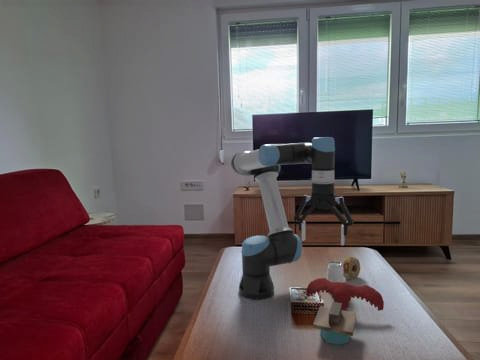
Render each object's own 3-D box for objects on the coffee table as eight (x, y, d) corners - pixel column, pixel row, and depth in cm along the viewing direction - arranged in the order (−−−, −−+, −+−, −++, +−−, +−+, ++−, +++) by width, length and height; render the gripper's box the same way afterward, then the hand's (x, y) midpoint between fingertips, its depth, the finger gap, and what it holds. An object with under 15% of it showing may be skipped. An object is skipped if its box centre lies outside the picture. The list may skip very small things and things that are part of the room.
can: (343, 294, 133) (344, 267, 131) (327, 293, 134) (328, 266, 132) (342, 287, 139) (342, 261, 137) (326, 286, 140) (327, 260, 139)
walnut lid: (313, 327, 102) (313, 313, 102) (320, 309, 113) (320, 296, 112) (352, 336, 97) (353, 321, 97) (356, 316, 108) (356, 303, 107)
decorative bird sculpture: (382, 333, 113) (384, 291, 121) (382, 327, 106) (384, 283, 114) (304, 316, 126) (310, 279, 133) (299, 309, 119) (306, 271, 126)
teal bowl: (318, 340, 104) (318, 325, 103) (324, 325, 112) (324, 312, 111) (347, 347, 100) (347, 332, 99) (350, 331, 108) (351, 317, 107)
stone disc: (347, 283, 143) (348, 261, 142) (340, 280, 146) (341, 259, 145) (361, 276, 149) (362, 256, 148) (354, 274, 152) (355, 254, 151)
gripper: (284, 182, 112) (285, 241, 115) (360, 185, 101) (359, 249, 104) (290, 179, 119) (291, 235, 121) (362, 182, 108) (361, 242, 111)
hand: (322, 241), depth 113 cm, fingers open, 13 cm apart
